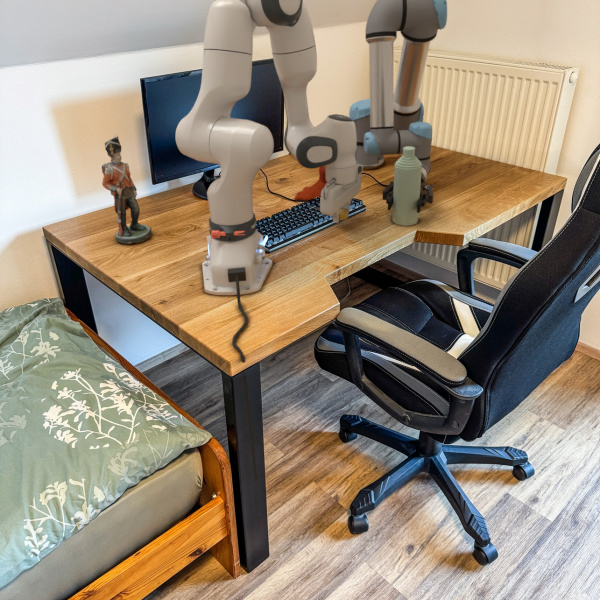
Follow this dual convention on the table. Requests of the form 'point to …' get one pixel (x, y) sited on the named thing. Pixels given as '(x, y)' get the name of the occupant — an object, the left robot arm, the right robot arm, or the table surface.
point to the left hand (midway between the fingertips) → (340, 218)
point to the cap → (343, 214)
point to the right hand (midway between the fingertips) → (403, 207)
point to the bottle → (406, 188)
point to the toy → (313, 188)
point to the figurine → (123, 195)
